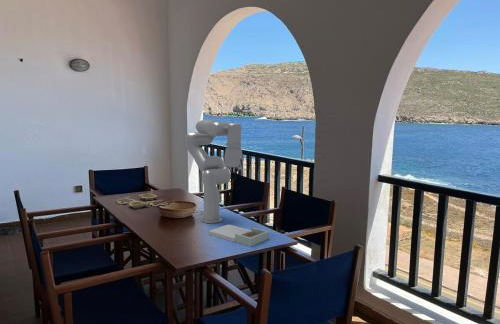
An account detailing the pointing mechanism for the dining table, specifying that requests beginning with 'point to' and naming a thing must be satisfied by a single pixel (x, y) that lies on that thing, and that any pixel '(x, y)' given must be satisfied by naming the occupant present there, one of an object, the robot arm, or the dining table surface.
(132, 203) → the tableware set
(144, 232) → the dining table surface
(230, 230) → the board
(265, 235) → the box
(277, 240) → the dining table surface
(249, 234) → the brown round disc
